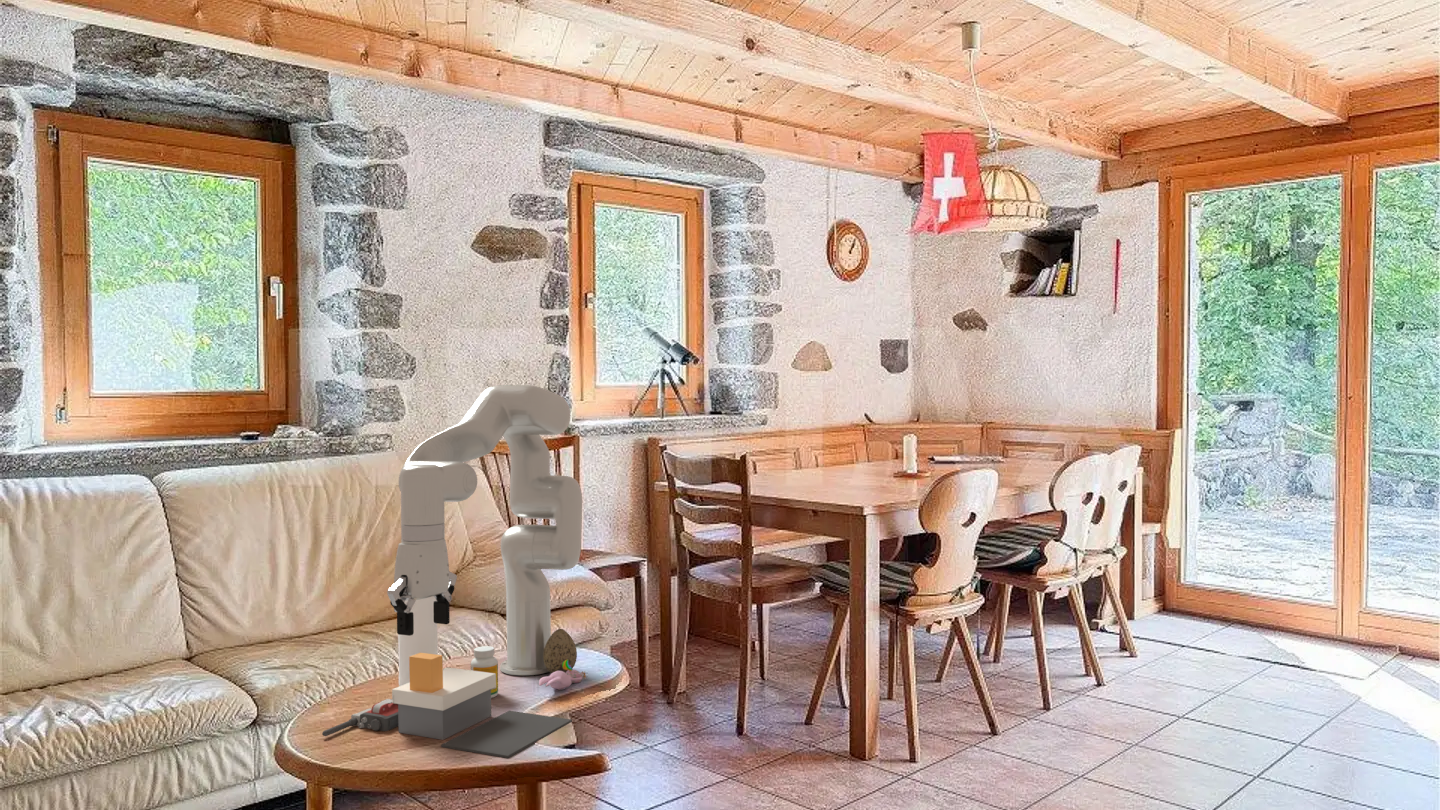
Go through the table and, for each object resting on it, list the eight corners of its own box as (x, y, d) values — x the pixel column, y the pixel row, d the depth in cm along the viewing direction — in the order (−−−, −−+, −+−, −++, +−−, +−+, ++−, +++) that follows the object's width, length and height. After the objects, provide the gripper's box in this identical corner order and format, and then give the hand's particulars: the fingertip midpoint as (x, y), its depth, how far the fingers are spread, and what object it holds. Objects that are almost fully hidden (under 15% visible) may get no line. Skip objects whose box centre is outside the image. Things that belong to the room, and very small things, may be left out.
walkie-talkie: (396, 708, 205) (318, 741, 187) (395, 685, 205) (318, 716, 187) (432, 713, 201) (356, 747, 183) (431, 690, 201) (355, 722, 183)
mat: (509, 712, 200) (509, 710, 200) (572, 721, 194) (572, 719, 194) (441, 746, 182) (441, 744, 182) (507, 758, 176) (507, 755, 176)
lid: (447, 680, 203) (446, 636, 203) (496, 686, 198) (495, 642, 198) (392, 703, 189) (391, 656, 189) (443, 710, 184) (442, 662, 184)
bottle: (432, 695, 211) (429, 547, 210) (393, 696, 211) (390, 548, 210) (443, 684, 219) (440, 541, 218) (406, 684, 219) (403, 541, 218)
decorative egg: (541, 671, 227) (541, 625, 227) (573, 668, 229) (574, 623, 229) (545, 681, 220) (545, 634, 220) (579, 678, 222) (579, 632, 222)
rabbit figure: (566, 684, 223) (528, 692, 209) (568, 655, 224) (530, 662, 210) (592, 687, 221) (555, 695, 207) (594, 658, 221) (557, 665, 208)
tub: (448, 709, 202) (448, 673, 202) (491, 716, 198) (490, 679, 198) (398, 732, 189) (397, 694, 189) (443, 739, 185) (442, 700, 185)
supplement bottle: (466, 695, 211) (465, 648, 211) (490, 690, 215) (489, 643, 214) (478, 701, 207) (477, 653, 207) (503, 696, 210) (502, 648, 210)
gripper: (437, 527, 197) (438, 617, 197) (372, 538, 181) (373, 637, 182) (470, 529, 194) (471, 621, 194) (406, 541, 178) (407, 641, 179)
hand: (423, 628), depth 188 cm, fingers open, 9 cm apart
